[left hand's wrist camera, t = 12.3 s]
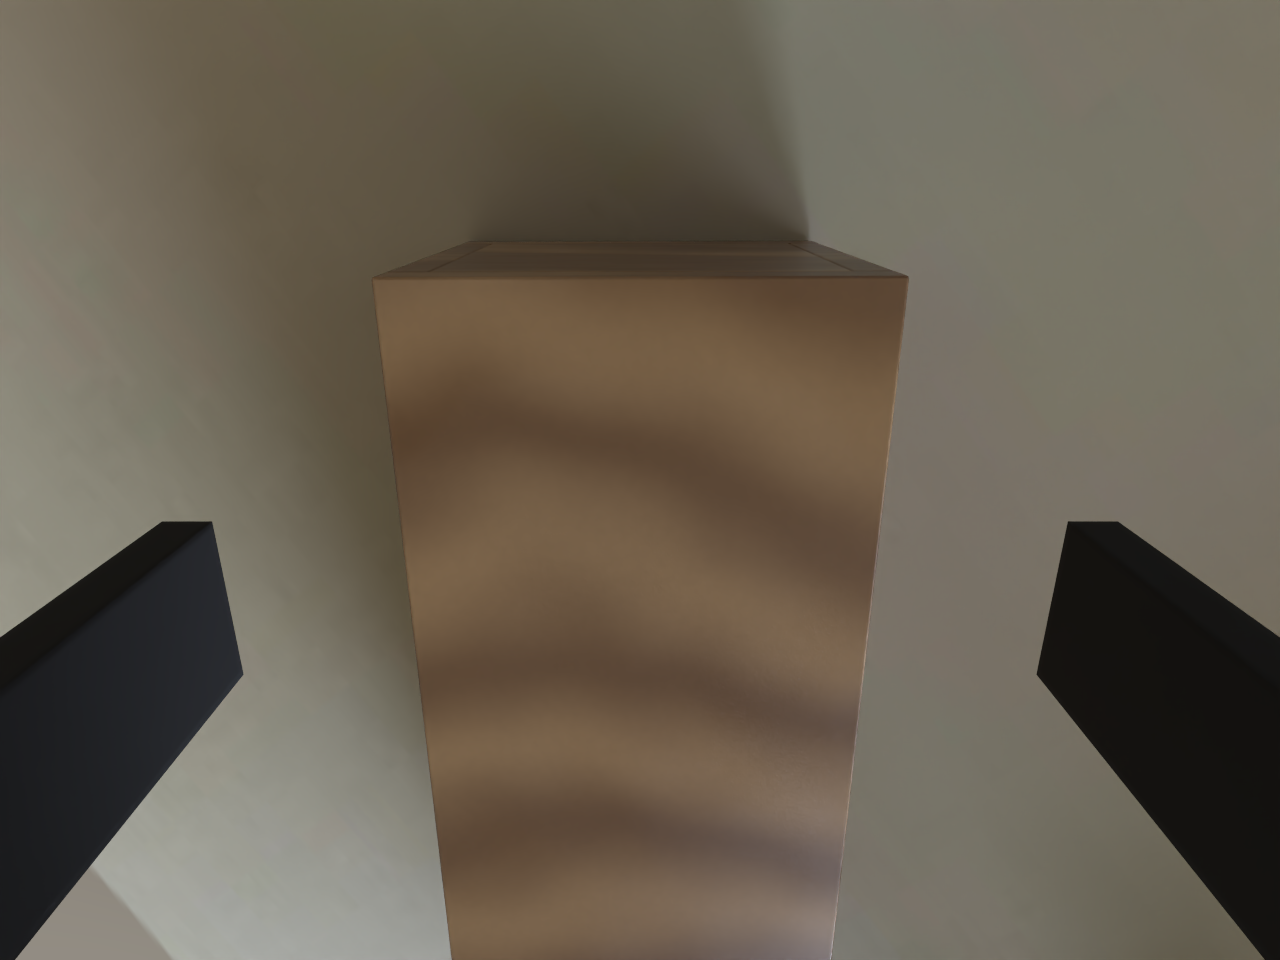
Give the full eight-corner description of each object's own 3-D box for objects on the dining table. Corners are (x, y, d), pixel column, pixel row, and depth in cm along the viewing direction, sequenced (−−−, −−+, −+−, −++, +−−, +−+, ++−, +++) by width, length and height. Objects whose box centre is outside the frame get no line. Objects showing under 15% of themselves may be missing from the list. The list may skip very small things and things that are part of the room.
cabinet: (775, 760, 32) (829, 986, 23) (506, 760, 32) (454, 987, 23) (813, 240, 25) (910, 275, 16) (467, 241, 25) (370, 277, 16)
